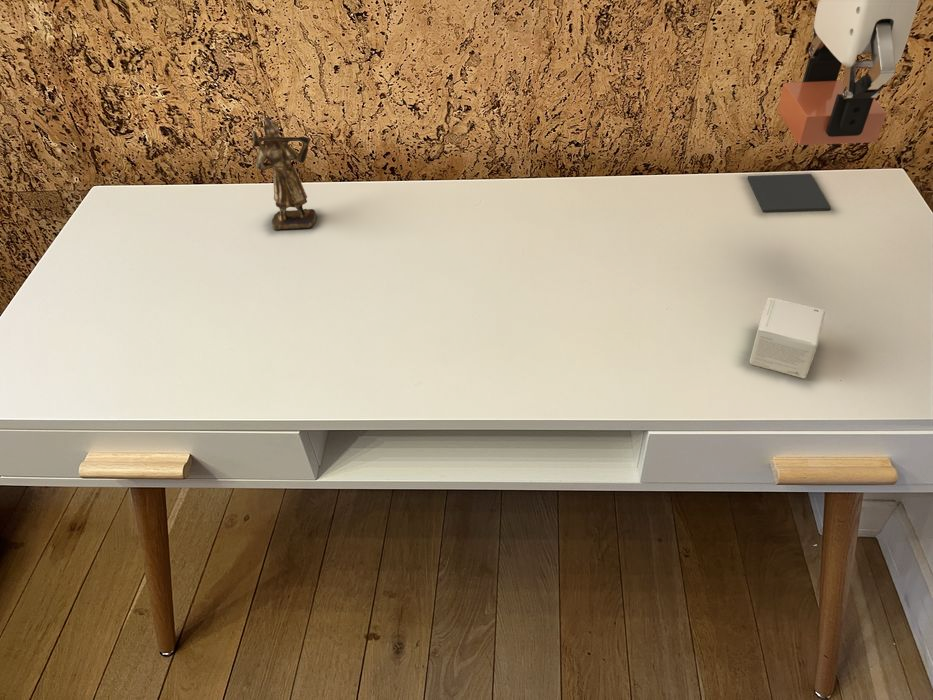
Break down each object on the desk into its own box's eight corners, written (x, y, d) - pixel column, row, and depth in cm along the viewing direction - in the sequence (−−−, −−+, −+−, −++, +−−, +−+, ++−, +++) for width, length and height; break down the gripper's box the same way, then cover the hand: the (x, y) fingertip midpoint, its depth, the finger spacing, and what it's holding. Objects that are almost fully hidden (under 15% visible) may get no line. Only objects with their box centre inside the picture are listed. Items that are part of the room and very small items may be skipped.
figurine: (329, 212, 101) (306, 109, 90) (325, 228, 98) (300, 123, 87) (276, 215, 101) (247, 112, 91) (270, 230, 98) (240, 126, 88)
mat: (830, 210, 94) (831, 207, 94) (762, 212, 94) (763, 209, 94) (810, 176, 100) (811, 173, 100) (747, 178, 101) (747, 175, 100)
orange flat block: (876, 142, 71) (887, 113, 69) (798, 145, 71) (806, 116, 69) (849, 107, 76) (858, 79, 74) (776, 110, 77) (783, 82, 75)
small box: (758, 330, 79) (768, 295, 75) (814, 345, 77) (828, 309, 73) (746, 364, 75) (756, 329, 72) (805, 381, 73) (819, 345, 70)
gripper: (987, -57, 54) (902, 157, 67) (893, -114, 67) (836, 75, 79) (884, -52, 55) (818, 161, 67) (809, -109, 67) (766, 79, 80)
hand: (828, 113), depth 73 cm, fingers closed on orange flat block, 7 cm apart
